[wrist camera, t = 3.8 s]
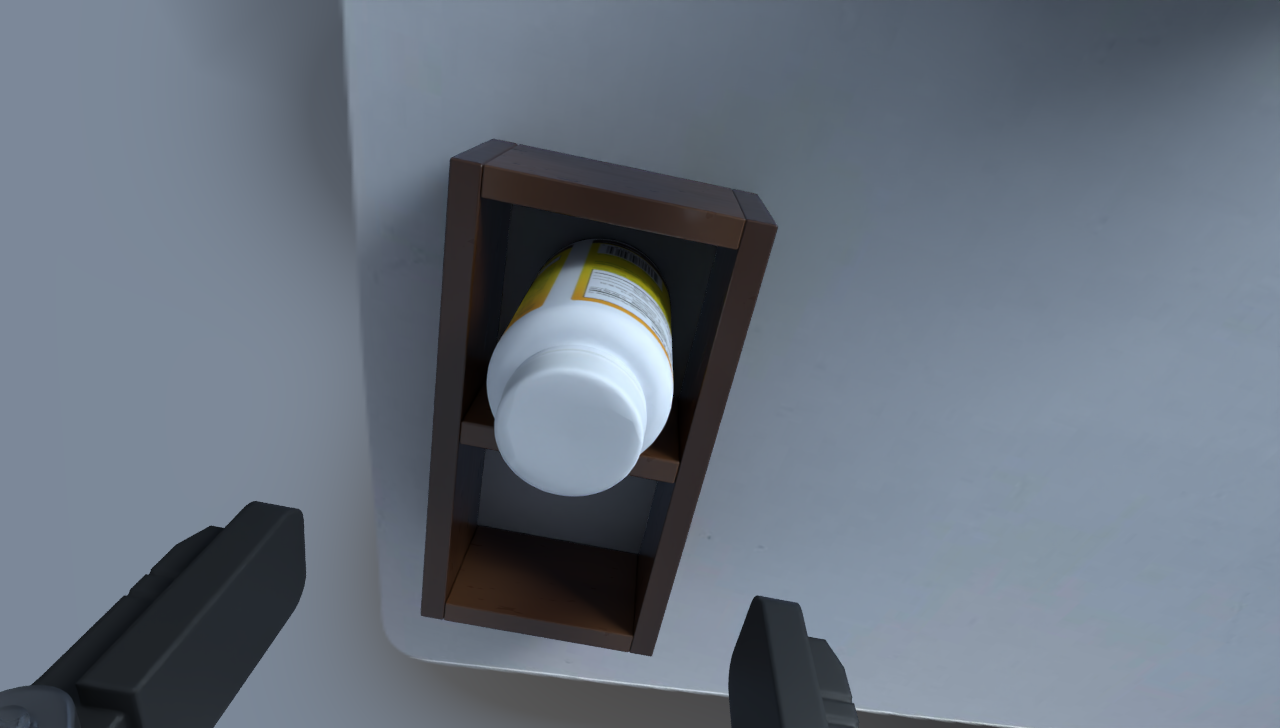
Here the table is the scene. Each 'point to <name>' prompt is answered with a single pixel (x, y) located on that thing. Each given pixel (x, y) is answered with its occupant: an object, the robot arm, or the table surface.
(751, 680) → the robot arm
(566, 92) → the table surface
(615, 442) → the supplement bottle
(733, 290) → the bottle rack
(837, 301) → the table surface
